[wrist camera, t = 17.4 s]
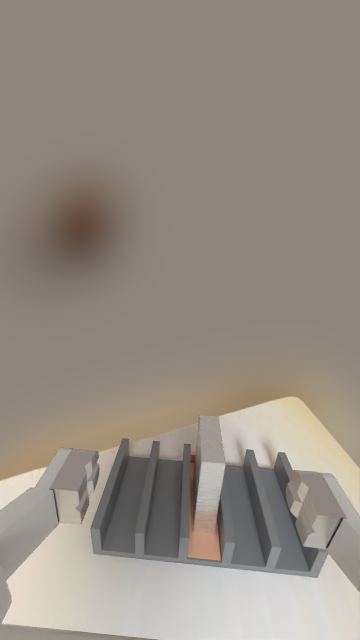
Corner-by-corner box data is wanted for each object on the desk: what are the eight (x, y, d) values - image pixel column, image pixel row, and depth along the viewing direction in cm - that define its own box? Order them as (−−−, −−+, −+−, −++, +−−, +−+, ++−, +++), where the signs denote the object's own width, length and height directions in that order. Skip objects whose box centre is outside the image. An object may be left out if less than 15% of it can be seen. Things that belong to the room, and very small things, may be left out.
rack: (93, 553, 31) (90, 528, 29) (124, 457, 44) (123, 435, 43) (317, 577, 30) (328, 552, 28) (277, 471, 43) (283, 449, 42)
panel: (193, 531, 33) (201, 461, 28) (192, 477, 40) (199, 415, 35) (213, 533, 32) (225, 463, 28) (209, 478, 40) (218, 416, 35)
